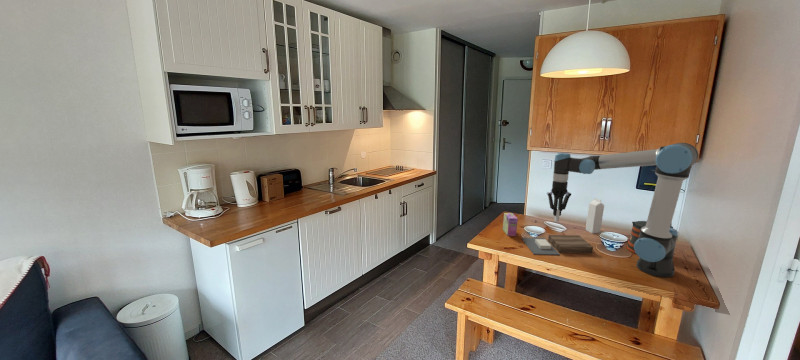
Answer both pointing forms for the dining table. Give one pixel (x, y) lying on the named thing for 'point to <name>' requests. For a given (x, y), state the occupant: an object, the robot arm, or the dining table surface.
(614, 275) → the dining table surface
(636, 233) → the beer stein
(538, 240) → the tile
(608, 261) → the dining table surface
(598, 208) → the milk
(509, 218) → the box
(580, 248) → the deck
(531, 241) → the mat
